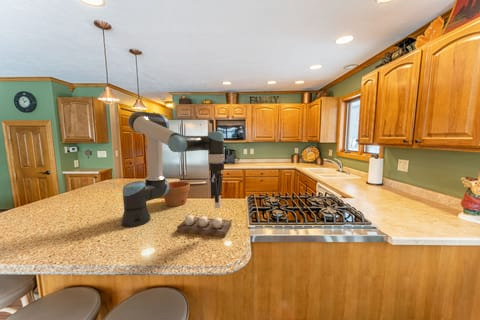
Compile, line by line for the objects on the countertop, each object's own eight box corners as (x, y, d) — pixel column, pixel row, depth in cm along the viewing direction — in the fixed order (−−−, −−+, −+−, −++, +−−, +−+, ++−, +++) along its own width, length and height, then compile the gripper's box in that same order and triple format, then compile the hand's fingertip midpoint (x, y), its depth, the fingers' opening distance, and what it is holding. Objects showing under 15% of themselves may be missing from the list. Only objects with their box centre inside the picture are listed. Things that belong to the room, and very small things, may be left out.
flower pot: (173, 210, 130) (172, 189, 129) (155, 204, 142) (154, 185, 140) (196, 201, 148) (195, 183, 146) (178, 197, 159) (177, 180, 158)
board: (177, 232, 100) (177, 226, 99) (189, 221, 112) (188, 216, 112) (224, 237, 94) (224, 231, 94) (231, 225, 107) (231, 220, 106)
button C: (212, 228, 97) (212, 220, 97) (215, 224, 101) (215, 217, 101) (220, 228, 96) (220, 221, 96) (223, 224, 100) (222, 217, 100)
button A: (183, 225, 100) (183, 218, 100) (187, 221, 105) (187, 214, 104) (191, 225, 99) (191, 218, 99) (195, 222, 104) (194, 215, 103)
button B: (197, 226, 99) (197, 219, 98) (201, 222, 103) (201, 215, 103) (205, 227, 98) (205, 219, 97) (208, 223, 102) (208, 216, 102)
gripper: (219, 164, 88) (220, 213, 90) (227, 161, 101) (228, 204, 103) (204, 163, 90) (206, 212, 92) (213, 160, 102) (215, 203, 105)
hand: (217, 207), depth 98 cm, fingers closed
